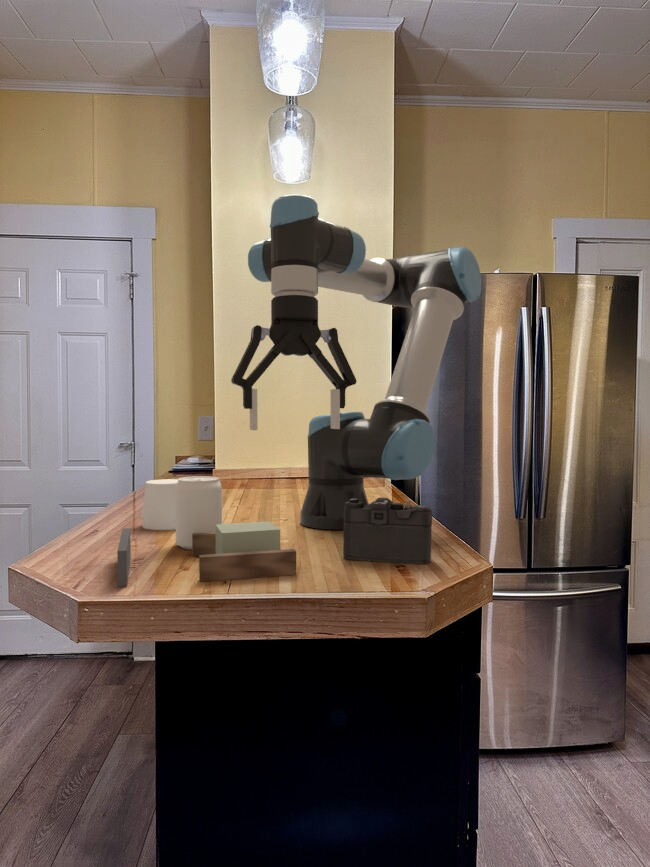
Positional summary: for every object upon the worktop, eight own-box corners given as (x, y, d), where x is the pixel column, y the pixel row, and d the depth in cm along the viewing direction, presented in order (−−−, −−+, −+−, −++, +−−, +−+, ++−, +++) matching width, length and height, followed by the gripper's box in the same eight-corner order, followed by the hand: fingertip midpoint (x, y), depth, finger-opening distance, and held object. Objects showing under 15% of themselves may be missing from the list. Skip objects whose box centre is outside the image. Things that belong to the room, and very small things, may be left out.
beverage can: (212, 551, 107) (211, 482, 106) (167, 549, 108) (167, 480, 108) (228, 541, 114) (228, 476, 114) (187, 539, 116) (186, 475, 115)
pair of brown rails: (274, 548, 109) (274, 528, 108) (296, 574, 92) (296, 551, 92) (192, 554, 105) (192, 533, 105) (200, 581, 89) (199, 557, 88)
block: (270, 557, 104) (270, 521, 103) (280, 567, 97) (280, 529, 97) (215, 561, 101) (215, 524, 100) (222, 572, 94) (222, 533, 94)
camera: (433, 550, 108) (433, 493, 108) (430, 566, 97) (431, 503, 97) (351, 546, 111) (351, 491, 110) (340, 561, 100) (340, 500, 100)
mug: (136, 483, 125) (149, 478, 133) (136, 530, 125) (149, 522, 133) (195, 484, 124) (205, 479, 132) (195, 530, 124) (205, 523, 132)
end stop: (130, 558, 102) (130, 528, 101) (127, 586, 86) (126, 550, 86) (122, 559, 101) (122, 528, 101) (118, 586, 86) (117, 551, 86)
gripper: (359, 304, 107) (359, 427, 108) (213, 297, 100) (214, 429, 101) (375, 297, 100) (375, 429, 101) (219, 289, 93) (220, 431, 94)
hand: (295, 429), depth 101 cm, fingers open, 13 cm apart
